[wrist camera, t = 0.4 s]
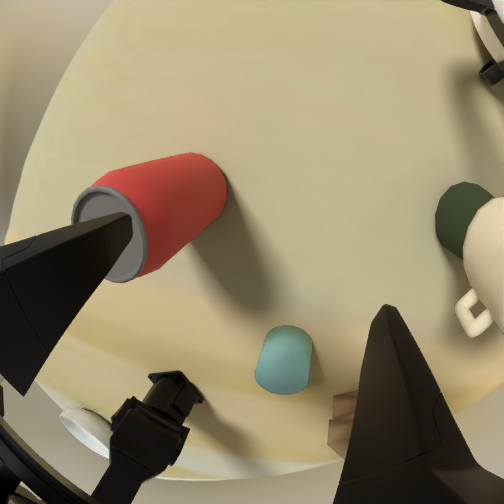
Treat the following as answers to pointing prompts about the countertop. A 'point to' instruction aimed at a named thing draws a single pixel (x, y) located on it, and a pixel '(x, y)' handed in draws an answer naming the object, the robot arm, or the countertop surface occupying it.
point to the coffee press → (488, 33)
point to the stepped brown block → (340, 434)
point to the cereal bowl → (88, 429)
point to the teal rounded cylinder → (284, 361)
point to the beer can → (156, 208)
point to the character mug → (475, 251)
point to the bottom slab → (344, 404)
